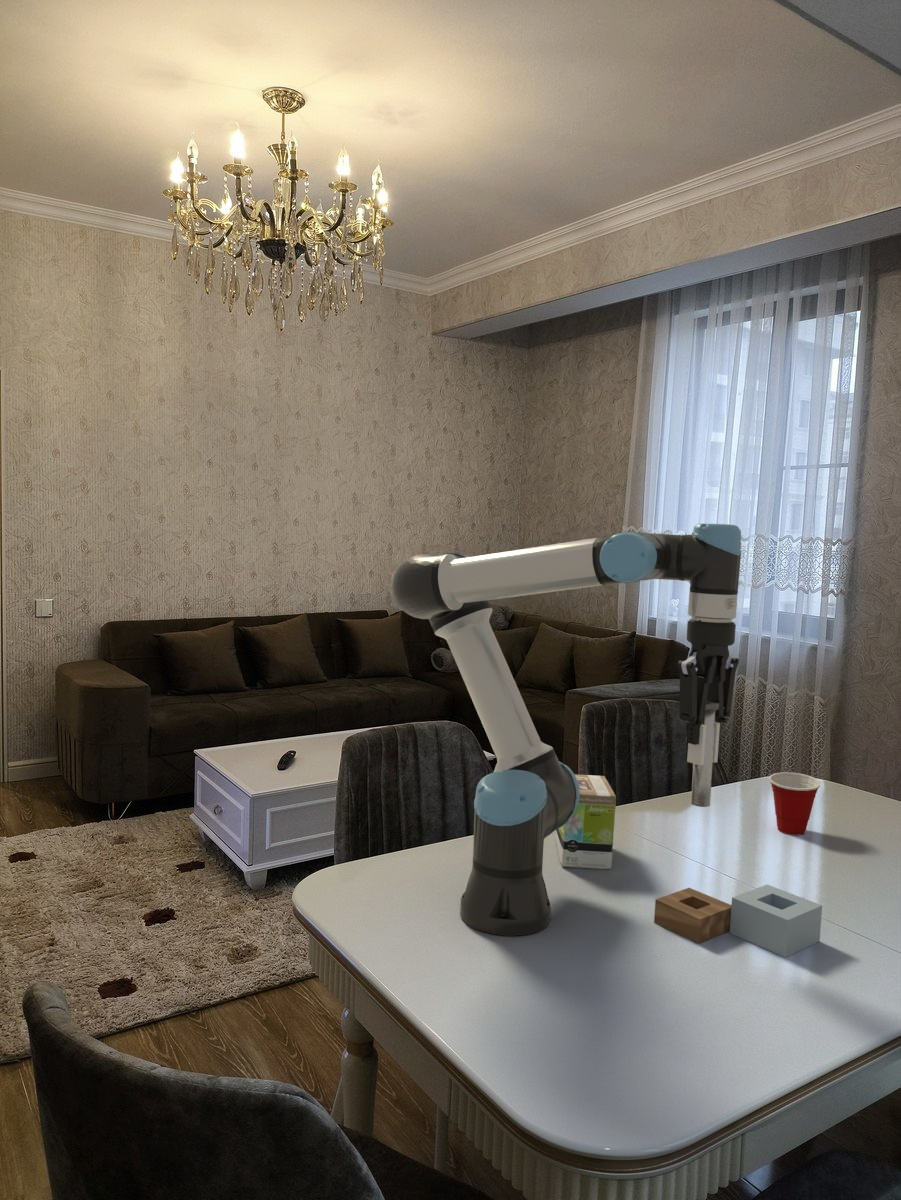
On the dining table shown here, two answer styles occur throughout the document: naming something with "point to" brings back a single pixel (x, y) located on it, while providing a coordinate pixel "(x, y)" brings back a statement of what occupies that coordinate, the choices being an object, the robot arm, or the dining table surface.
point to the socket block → (776, 920)
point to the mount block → (693, 914)
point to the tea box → (589, 826)
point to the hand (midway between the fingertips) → (702, 761)
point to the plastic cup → (793, 800)
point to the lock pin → (705, 761)
